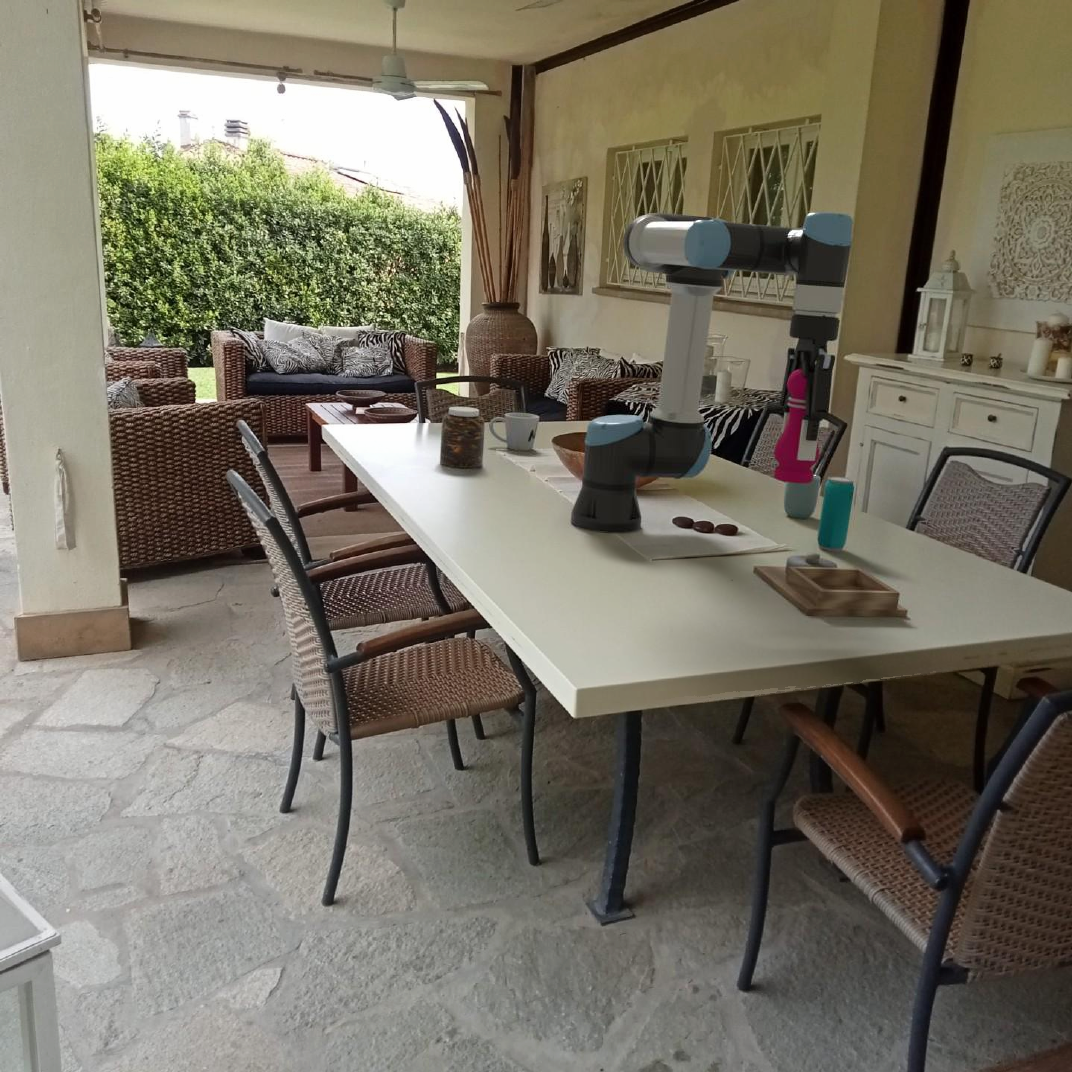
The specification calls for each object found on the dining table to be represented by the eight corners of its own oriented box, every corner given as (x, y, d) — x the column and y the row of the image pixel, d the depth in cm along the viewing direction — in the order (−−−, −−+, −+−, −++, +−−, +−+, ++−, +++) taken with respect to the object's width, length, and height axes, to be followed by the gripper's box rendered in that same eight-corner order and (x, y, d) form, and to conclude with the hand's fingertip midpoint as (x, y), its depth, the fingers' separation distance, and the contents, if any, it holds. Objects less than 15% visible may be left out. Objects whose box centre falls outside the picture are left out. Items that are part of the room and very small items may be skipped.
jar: (491, 465, 271) (494, 410, 267) (466, 470, 261) (469, 413, 257) (456, 458, 277) (459, 404, 273) (430, 463, 267) (433, 407, 263)
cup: (815, 522, 232) (822, 480, 229) (781, 518, 233) (787, 476, 231) (813, 515, 239) (819, 474, 237) (780, 511, 241) (786, 470, 238)
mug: (536, 452, 295) (539, 419, 292) (486, 448, 294) (488, 415, 292) (537, 446, 305) (539, 414, 302) (488, 443, 305) (490, 410, 302)
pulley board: (806, 615, 165) (810, 585, 163) (753, 572, 188) (756, 545, 186) (906, 616, 168) (911, 587, 166) (842, 573, 191) (846, 547, 189)
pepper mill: (765, 474, 169) (781, 355, 164) (807, 476, 170) (824, 358, 165) (778, 482, 162) (794, 358, 157) (821, 485, 163) (839, 362, 158)
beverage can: (844, 547, 211) (855, 478, 207) (843, 554, 205) (855, 483, 201) (817, 543, 212) (827, 474, 208) (815, 549, 207) (825, 479, 203)
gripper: (866, 319, 150) (843, 468, 156) (813, 313, 169) (795, 446, 175) (819, 315, 149) (798, 466, 155) (771, 310, 168) (754, 444, 174)
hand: (796, 455), depth 165 cm, fingers closed on pepper mill, 7 cm apart
